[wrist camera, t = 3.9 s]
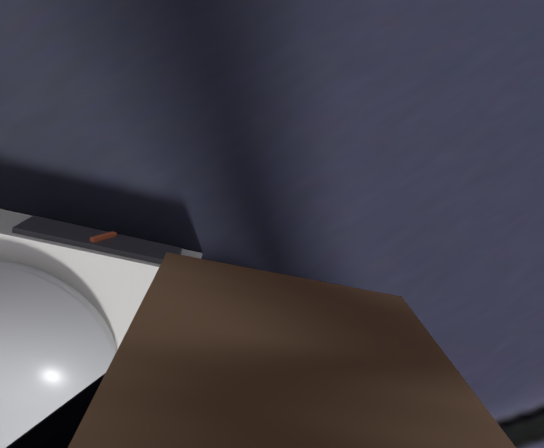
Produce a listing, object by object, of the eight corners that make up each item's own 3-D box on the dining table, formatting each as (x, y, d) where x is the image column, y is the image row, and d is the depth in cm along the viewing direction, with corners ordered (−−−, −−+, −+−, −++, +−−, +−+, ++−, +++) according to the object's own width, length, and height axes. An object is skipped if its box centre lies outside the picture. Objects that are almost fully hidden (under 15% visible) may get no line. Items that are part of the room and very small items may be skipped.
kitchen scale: (204, 245, 20) (195, 275, 17) (160, 436, 24) (146, 491, 20) (-74, 184, 19) (-144, 203, 15) (-76, 399, 22) (-133, 453, 19)
